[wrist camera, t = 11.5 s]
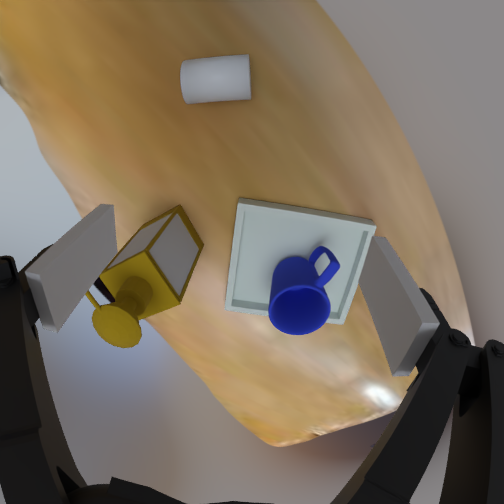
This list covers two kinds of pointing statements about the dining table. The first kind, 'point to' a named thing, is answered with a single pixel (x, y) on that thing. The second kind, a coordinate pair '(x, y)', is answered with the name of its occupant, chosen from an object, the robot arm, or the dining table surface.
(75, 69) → the dining table surface
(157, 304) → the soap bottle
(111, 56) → the dining table surface
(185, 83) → the white cylinder
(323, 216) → the tray
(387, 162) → the dining table surface
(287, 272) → the mug
